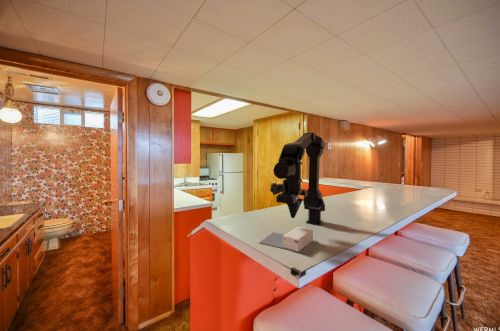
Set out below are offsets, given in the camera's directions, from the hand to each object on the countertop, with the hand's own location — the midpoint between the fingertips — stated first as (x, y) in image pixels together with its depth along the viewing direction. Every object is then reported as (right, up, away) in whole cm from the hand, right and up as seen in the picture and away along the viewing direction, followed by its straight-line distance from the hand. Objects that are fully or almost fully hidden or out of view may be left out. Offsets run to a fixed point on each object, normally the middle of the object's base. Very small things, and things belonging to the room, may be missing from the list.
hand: (292, 217), depth 79 cm
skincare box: (+5, -5, -1) cm, 7 cm away
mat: (-2, -8, -4) cm, 9 cm away
